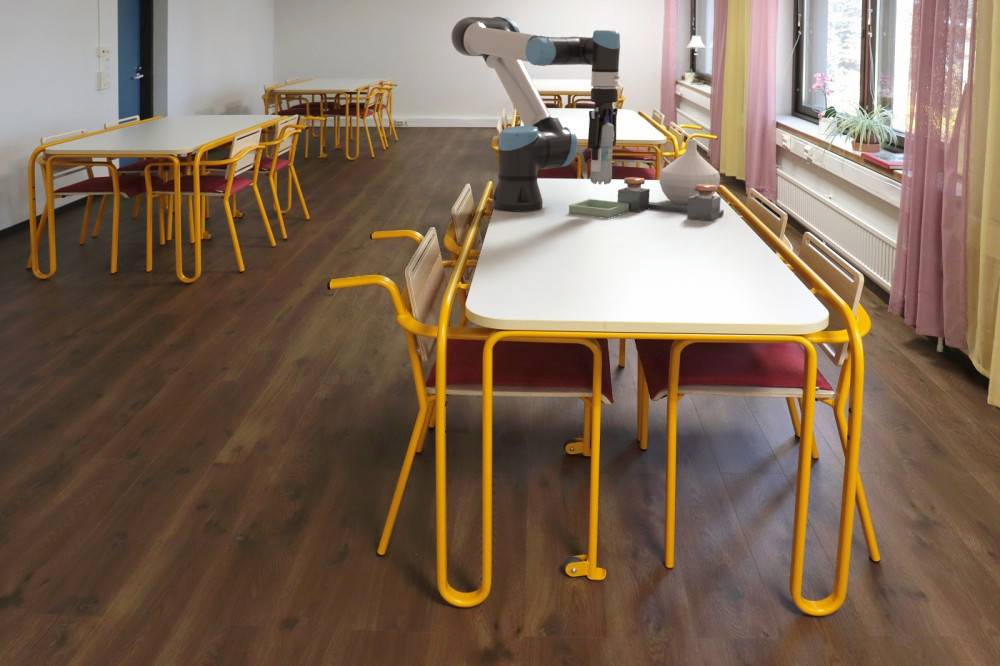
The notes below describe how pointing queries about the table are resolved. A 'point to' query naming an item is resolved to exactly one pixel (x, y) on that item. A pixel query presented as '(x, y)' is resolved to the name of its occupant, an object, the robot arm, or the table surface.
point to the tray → (598, 208)
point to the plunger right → (705, 190)
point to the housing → (694, 210)
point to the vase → (687, 175)
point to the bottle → (605, 155)
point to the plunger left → (634, 183)
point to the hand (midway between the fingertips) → (601, 169)
